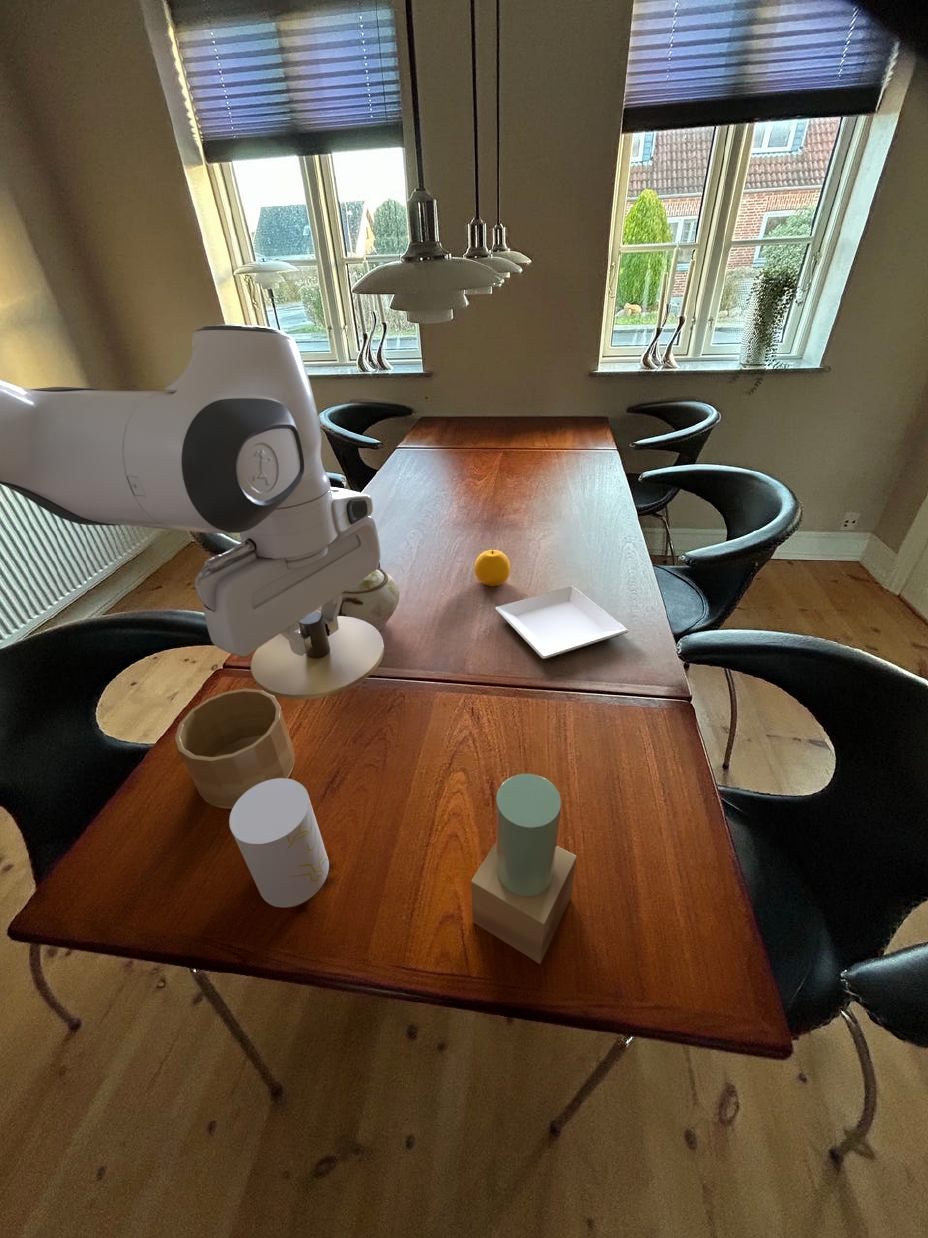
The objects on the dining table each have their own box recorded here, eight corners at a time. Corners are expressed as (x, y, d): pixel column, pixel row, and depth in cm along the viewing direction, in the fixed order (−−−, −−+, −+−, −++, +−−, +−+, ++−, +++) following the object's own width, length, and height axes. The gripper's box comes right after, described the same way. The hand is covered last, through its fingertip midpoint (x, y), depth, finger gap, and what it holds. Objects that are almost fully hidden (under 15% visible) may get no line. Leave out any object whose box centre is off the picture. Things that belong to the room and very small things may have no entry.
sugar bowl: (350, 595, 116) (339, 532, 107) (415, 601, 113) (409, 537, 104) (308, 648, 100) (291, 579, 92) (383, 657, 97) (372, 587, 88)
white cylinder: (319, 907, 59) (297, 843, 53) (248, 907, 59) (216, 844, 53) (335, 841, 66) (317, 777, 59) (271, 842, 66) (245, 778, 60)
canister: (538, 908, 50) (544, 839, 44) (485, 877, 53) (484, 808, 47) (562, 859, 54) (571, 790, 48) (513, 833, 57) (514, 764, 51)
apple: (471, 588, 116) (470, 558, 112) (478, 571, 123) (478, 542, 118) (507, 592, 115) (507, 561, 110) (512, 574, 121) (513, 544, 117)
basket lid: (321, 723, 50) (309, 677, 47) (224, 676, 57) (208, 632, 54) (410, 645, 60) (405, 602, 57) (319, 612, 67) (310, 572, 63)
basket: (239, 825, 68) (218, 776, 63) (178, 782, 75) (154, 734, 69) (313, 757, 78) (300, 709, 72) (254, 724, 84) (237, 678, 78)
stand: (540, 964, 54) (544, 924, 49) (472, 922, 57) (470, 881, 53) (571, 897, 59) (577, 856, 55) (507, 862, 63) (508, 821, 58)
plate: (542, 667, 93) (543, 657, 92) (494, 615, 107) (494, 606, 106) (628, 639, 99) (630, 629, 98) (572, 593, 113) (573, 584, 112)
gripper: (214, 577, 41) (259, 709, 48) (382, 492, 55) (396, 604, 63) (165, 559, 44) (215, 687, 51) (337, 482, 58) (356, 591, 65)
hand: (316, 641), depth 57 cm, fingers closed on basket lid, 2 cm apart
